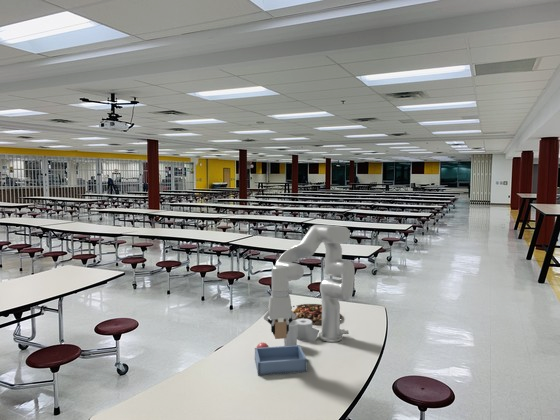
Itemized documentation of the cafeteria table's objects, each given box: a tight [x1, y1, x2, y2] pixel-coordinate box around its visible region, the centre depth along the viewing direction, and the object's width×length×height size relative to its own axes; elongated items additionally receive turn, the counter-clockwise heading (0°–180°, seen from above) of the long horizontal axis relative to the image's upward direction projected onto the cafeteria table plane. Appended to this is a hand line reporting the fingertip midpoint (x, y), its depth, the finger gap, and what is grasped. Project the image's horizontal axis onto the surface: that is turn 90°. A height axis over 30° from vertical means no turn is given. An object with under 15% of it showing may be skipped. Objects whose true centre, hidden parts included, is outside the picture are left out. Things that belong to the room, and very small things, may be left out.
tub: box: [254, 344, 308, 377], centre depth 175 cm, size 21×15×6 cm
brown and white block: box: [273, 318, 287, 340], centre depth 174 cm, size 5×5×9 cm
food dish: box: [291, 303, 343, 326], centre depth 239 cm, size 35×33×8 cm
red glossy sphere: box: [256, 342, 269, 348], centre depth 185 cm, size 6×6×6 cm
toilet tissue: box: [295, 318, 320, 342], centre depth 207 cm, size 9×13×9 cm
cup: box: [283, 320, 298, 346], centre depth 196 cm, size 8×8×12 cm
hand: (280, 332), depth 174 cm, fingers closed on brown and white block, 5 cm apart
